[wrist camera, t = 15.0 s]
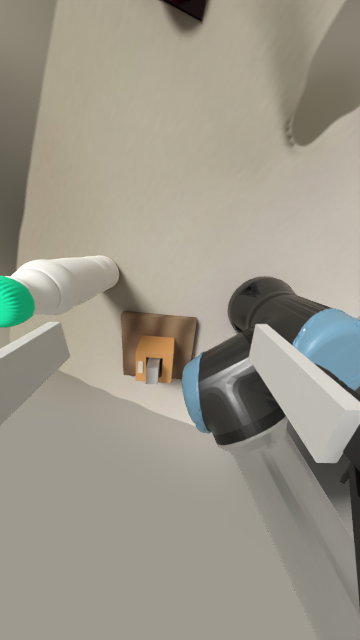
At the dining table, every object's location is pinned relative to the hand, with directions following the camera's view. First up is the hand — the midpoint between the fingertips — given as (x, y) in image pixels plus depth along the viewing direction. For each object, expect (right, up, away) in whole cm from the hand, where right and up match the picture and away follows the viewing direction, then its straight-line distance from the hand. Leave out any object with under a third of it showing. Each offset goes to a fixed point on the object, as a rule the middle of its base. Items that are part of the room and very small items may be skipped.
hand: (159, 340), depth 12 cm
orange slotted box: (-4, -6, +32) cm, 33 cm away
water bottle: (-16, +12, +26) cm, 33 cm away
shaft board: (-4, -5, +34) cm, 34 cm away
